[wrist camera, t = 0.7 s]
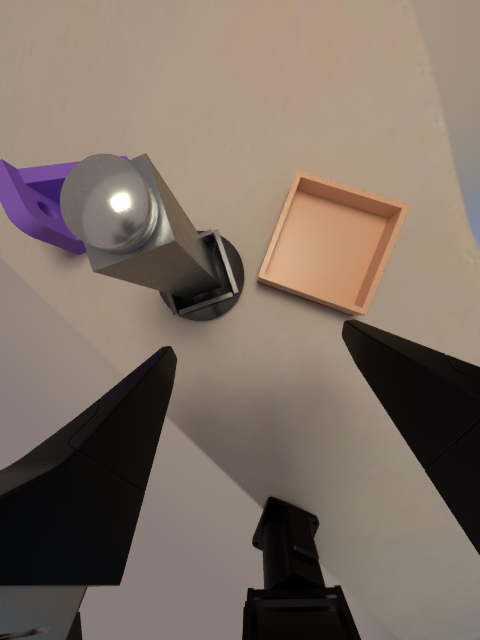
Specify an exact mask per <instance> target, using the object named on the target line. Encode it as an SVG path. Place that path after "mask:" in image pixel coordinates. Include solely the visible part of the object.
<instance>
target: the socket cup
mask: <svg viewBox="0 0 480 640" xmlns="http://www.w3.org/2000/svg"><path fill="white" fill-rule="evenodd" d="M197 232H198V234H199V235H200V237H201V238H202V240H203V241H204V243H205V244H206V246H207V247H208V249H209V250H210V252H211V255H212V258H213V261H214V264H215V267H216V270H217V273H218V276H219V279H220V282H221V285H222V287H221V288H218V289H215V290H212V291H209V292H207V293H204V294H201V295H198V296H195V297H192V298H190V299H187V298H183V297H180V296H176V295H173V294H169V293H166V292H162V291H159V292H160V294H161V296H162V298H163V300H164V302H165V303H166V304H167V305H168V307H169V308H170V309H171V310H172V312H173V315H180V316H182V317H185V318H188V319H192V320H209V319H213V318H216V317H218V316H221V315H222V314H224V313H226V312H227V311H228V310H229V309H230V308H231V307H232V306H233V305H234V304H235V303H236V301H237V300H238V298H239V296H240V294H241V292H242V289H243V284H244V268H243V264H242V260H241V258H240V255H239V254H238V252H237V250H236V249H235V247H234V246H233V245H232V244H231V243H230V242H229V241H228V240H226V239H225V238H224V237H222V236H220V234H219V231H218V229H216V230H214V233H212V231H211V229H210V230H208V231H197Z"/></svg>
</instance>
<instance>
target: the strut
mask: <svg viewBox="0 0 480 640" xmlns="http://www.w3.org/2000/svg"><path fill="white" fill-rule="evenodd" d="M60 209H61V214H62V217H63V220H64V222H65V224H66V226H67V227H68V229H69V230H70V231H71V233H72V234H73V235H74V236H76V237H77V238H78V239H80V240H81V241H83V242H84V245H85V248H86V251H87V254H88V257H89V260H90V264H91V267H92V270H93V272H96V273H99V274H103V275H106V276H110V277H113V278H117V279H120V280H124V281H127V282H131V283H134V284H138V285H141V286H145V287H148V288H152V289H155V290H159V291H162V292H166V293H169V294H173V295H176V296H180V297H183V298H187V299H190V298H192V297H195V296H198V295H201V294H204V293H207V292H209V291H212V290H215V289H218V288H221V287H222V285H221V282H220V279H219V276H218V273H217V270H216V267H215V264H214V261H213V258H212V255H211V252H210V250H209V249H208V247H207V246H206V244H205V243H204V241H203V240H202V238H201V237H200V235H199V234H198V232H197V230H196V229H195V227H194V226H193V224H192V223H191V221H190V220H189V218H188V217H187V215H186V214H185V212H184V211H183V209H182V207H181V206H180V204H179V203H178V201H177V200H176V198H175V197H174V195H173V194H172V192H171V191H170V189H169V188H168V186H167V185H166V183H165V181H164V180H163V178H162V177H161V175H160V174H159V172H158V171H157V169H156V168H155V166H154V165H153V163H152V162H151V160H150V158H149V157H148V155H147V154H146V153H145V154H143V155H141V156H139V157H136V158H134V159H132V160H129V161H126V160H125V159H123V158H121V157H119V156H116V155H112V154H97V155H93V156H90V157H87V158H85V159H83V160H82V161H80V162H79V163H78V164H77V165H75V166H74V167H73V168H72V170H71V171H70V172H69V174H68V175H67V177H66V179H65V181H64V183H63V186H62V189H61V194H60Z"/></svg>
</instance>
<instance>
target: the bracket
mask: <svg viewBox="0 0 480 640" xmlns="http://www.w3.org/2000/svg"><path fill="white" fill-rule="evenodd" d="M121 158H123V159H125V160H126V161H129V159H128V158H127V157H126V156H121ZM78 163H79V162H72V163H64V164H55V165H47V166H39V167H31V168H23V169H16V168H15V167H13V166H12V165H10V164H8V163H7V162H5V161H4V160H2V159H1V160H0V202H1V204H2V206H3V208H4V210H5V212H6V214H7V216H8V218H9V219H10V220H11V222H12V223H13V224H14V225H15V226H16V227H18V228H19V229H20V230H21V231H23V232H24V233H26V234H27V235H29V236H31V237H33V238H35V239H38V240H41V241H44V242H46V243H49V244H52V245H55V246H58V247H60V248H63V249H66V250H69V251H71V252H74V253H77V254H80V255H81V254H82V253H84V252H86V248H85V245H84V242H83V241H81V240H80V239H78V238H77V237H76V236H74V235H73V234H72V233H71V231H70V230H69V229H68V227H67V226H66V224H65V222H64V220H63V217H62V214H61V209H60V194H61V189H62V186H63V183H64V181H65V179H66V177H67V175H68V174H69V172H70V171H71V170H72V168H73V167H74V166H75V165H77V164H78Z"/></svg>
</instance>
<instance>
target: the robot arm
mask: <svg viewBox="0 0 480 640" xmlns="http://www.w3.org/2000/svg"><path fill="white" fill-rule="evenodd" d="M342 338H343V340H344V342H345V344H346V346H347V348H348V350H349V352H350V354H351V356H352V358H353V360H354V362H355V364H356V365H357V367H358V369H359V370H360V372H361V373H362V375H363V376H364V378H365V379H366V381H367V382H368V384H369V385H370V387H371V389H372V390H373V392H374V393H375V395H376V396H377V398H378V399H379V401H380V402H381V404H382V405H383V407H384V409H385V410H386V412H387V413H388V415H389V416H390V418H391V419H392V421H393V422H394V424H395V425H396V427H397V429H398V430H399V432H400V433H401V435H402V436H403V438H404V439H405V441H406V442H407V444H408V445H409V447H410V449H411V450H412V452H413V453H414V455H415V456H416V458H417V459H418V461H419V462H420V464H421V465H422V467H423V468H424V469H425V472H426V473H427V475H428V477H429V478H430V480H431V481H432V483H433V484H434V486H435V487H436V489H437V490H438V492H439V493H440V495H441V497H442V498H443V500H444V501H445V503H446V504H447V506H448V507H449V509H450V510H451V512H452V513H453V515H454V517H455V518H456V520H457V521H458V523H459V524H460V526H461V527H462V529H463V530H464V532H465V533H466V535H467V537H468V538H469V540H470V541H471V543H472V544H473V546H474V547H475V549H476V550H477V552H478V553H479V555H480V367H478V366H476V365H473V364H470V363H467V362H465V361H462V360H459V359H457V358H454V357H452V356H449V355H445V354H444V353H441V352H438V351H436V350H433V349H431V348H428V347H425V346H423V345H420V344H418V343H415V342H412V341H410V340H407V339H404V338H402V337H399V336H397V335H394V334H391V333H389V332H386V331H384V330H381V329H378V328H376V327H373V326H370V325H368V324H365V323H363V322H360V321H357V320H355V319H352V320H346V321H345V322H344V325H343V330H342ZM176 365H177V357H176V355H175V353H174V351H173V349H172V347H171V346H166V347H162V348H161V349H159V350H158V351H157V352H156V353H155V354H153V355H152V356H151V357H150V358H148V359H147V360H146V361H145V362H144V363H142V364H141V365H140V366H139V367H137V368H136V369H135V370H134V371H133V372H131V373H130V374H129V375H128V376H126V377H125V378H124V379H123V380H122V381H120V382H119V383H118V384H117V385H116V386H114V387H113V388H112V389H111V390H109V392H107V393H106V394H104V395H103V396H102V397H101V399H98V400H97V401H96V402H95V403H93V405H91V406H90V407H89V408H87V409H86V410H85V411H84V412H82V413H81V414H80V415H79V416H77V417H76V418H75V419H73V420H72V421H71V422H69V423H68V424H67V425H65V426H64V427H63V428H61V429H60V430H59V431H57V432H56V433H55V434H53V435H52V436H51V437H49V438H48V439H47V440H45V441H44V442H43V443H41V444H40V445H38V446H37V447H36V448H34V449H33V450H32V451H30V452H29V453H28V454H26V455H25V456H24V457H22V458H21V459H19V460H18V461H16V462H15V463H13V464H11V465H10V466H8V467H6V468H4V469H2V470H0V640H82V631H81V621H80V620H81V619H80V612H78V610H79V608H80V605H81V603H82V600H83V597H84V595H85V592H86V590H87V587H99V586H119V585H120V582H121V580H122V576H123V573H124V569H125V566H126V562H127V558H128V554H129V550H130V547H131V543H132V539H133V536H134V532H135V528H136V524H137V521H138V517H139V513H140V509H141V506H142V502H143V498H144V495H145V490H146V486H147V482H148V479H149V475H150V472H151V468H152V464H153V460H154V457H155V453H156V449H157V445H158V441H159V438H160V434H161V430H162V426H163V423H164V419H165V415H166V412H167V408H168V404H169V400H170V397H171V393H172V389H173V384H174V378H175V371H176ZM271 502H273V503H271ZM314 521H315V522H314ZM318 526H319V521H318V518H317V517H316V516H314V515H312V514H310V513H308V512H305V511H303V510H301V509H298V508H296V507H294V506H292V505H289V504H287V503H285V502H283V501H280V500H278V499H276V498H273V497H270V498H269V499H268V501H267V503H266V506H265V508H264V511H263V513H262V516H261V518H260V521H259V523H258V526H257V529H256V531H255V534H254V536H253V539H252V544H253V546H254V547H255V548H257V549H259V550H262V551H263V570H264V589H259V590H258V589H257V590H254V589H253V588H248V592H247V601H245V607H244V609H243V610H244V611H243V635H242V640H361V638H360V636H359V633H358V631H357V628H356V625H355V622H354V620H353V617H352V615H351V612H350V610H349V607H348V604H347V601H346V599H345V596H344V594H343V591H342V588H341V586H340V585H335V586H334V587H325V583H324V579H323V576H322V572H321V568H320V564H319V556H318V552H317V549H316V545H315V542H314V536H315V534H316V531H317V529H318Z"/></svg>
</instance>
